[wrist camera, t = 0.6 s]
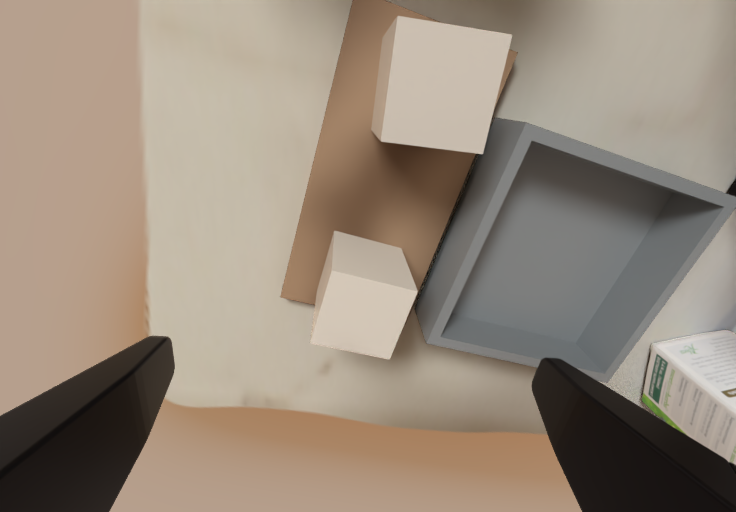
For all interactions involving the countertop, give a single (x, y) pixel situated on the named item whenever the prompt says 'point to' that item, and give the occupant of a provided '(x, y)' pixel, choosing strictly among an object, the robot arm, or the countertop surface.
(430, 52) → the cream white block
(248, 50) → the countertop surface
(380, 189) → the brown rectangular board
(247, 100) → the countertop surface
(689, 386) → the syrup box
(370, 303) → the stone
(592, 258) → the bin
